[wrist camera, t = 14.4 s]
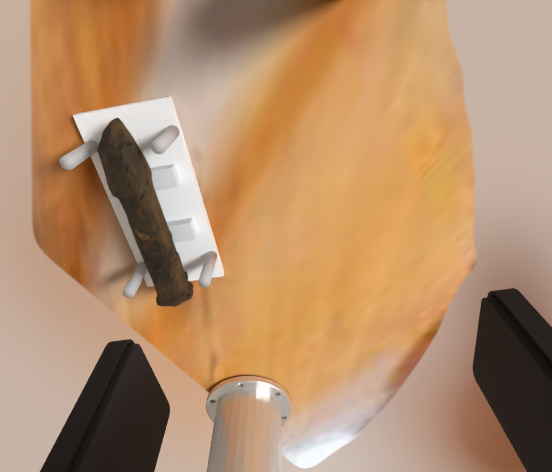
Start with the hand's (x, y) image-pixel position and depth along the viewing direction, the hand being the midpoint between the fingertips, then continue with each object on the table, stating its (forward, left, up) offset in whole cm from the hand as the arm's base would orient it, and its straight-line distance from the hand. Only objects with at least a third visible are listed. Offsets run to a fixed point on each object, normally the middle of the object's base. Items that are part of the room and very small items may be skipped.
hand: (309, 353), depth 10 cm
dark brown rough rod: (-6, +15, -26) cm, 31 cm away
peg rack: (-6, +15, -28) cm, 32 cm away
